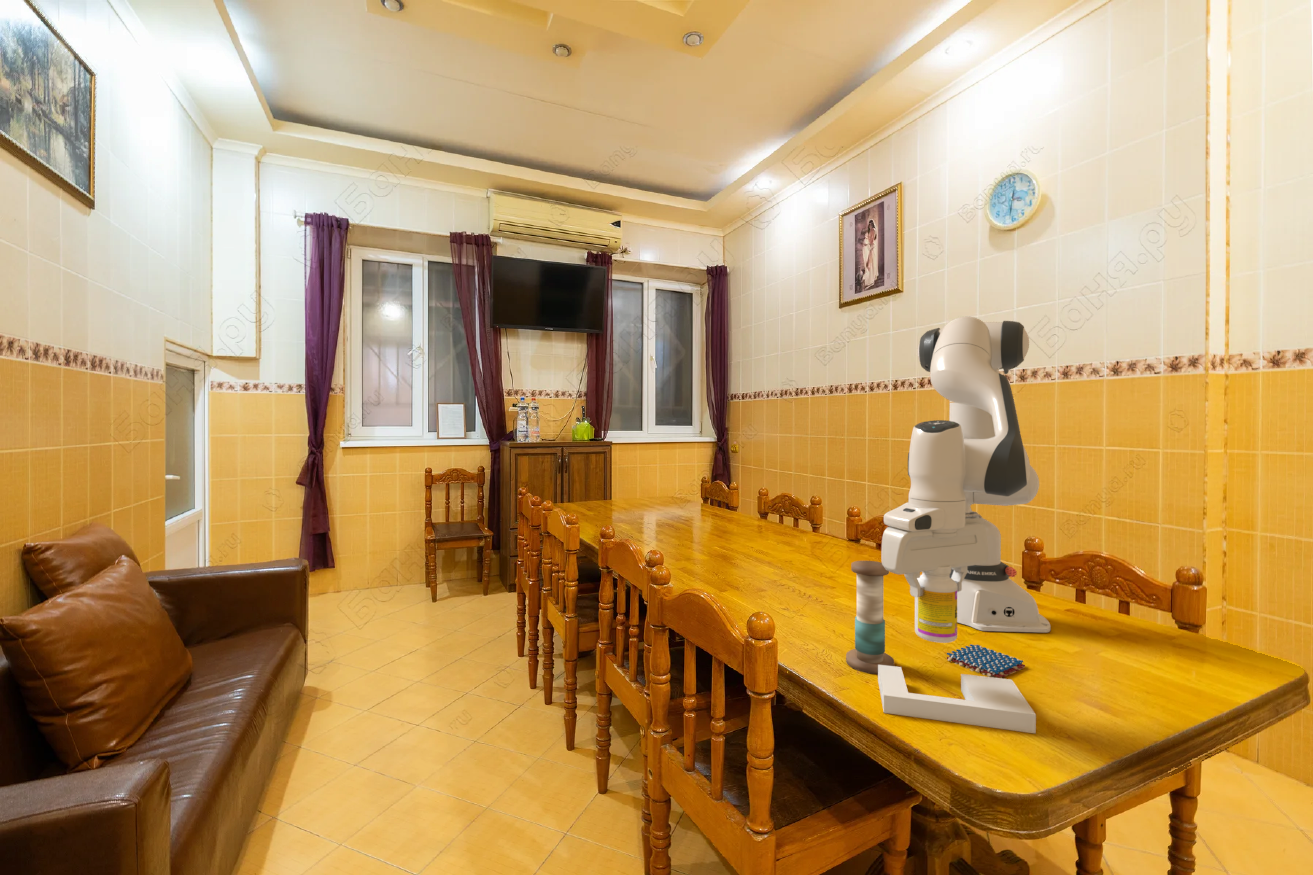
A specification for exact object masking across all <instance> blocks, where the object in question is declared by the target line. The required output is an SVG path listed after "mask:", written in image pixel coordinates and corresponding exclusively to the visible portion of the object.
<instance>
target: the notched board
mask: <svg viewBox="0 0 1313 875" xmlns="http://www.w3.org/2000/svg"><path fill="white" fill-rule="evenodd" d="M960 679H961V680H960V691H961V693H962V695H963V698H964V699H961V698H954V697H953V698H952V697H944V696H938V695H930V694H929V695H928V694H921V693H913V692H909V691H908V688H907V684H906V683H907V682H906V680H905V676H904V673H903V670H902V666H895V665H894V666H887V665H878V674H877V682H878V687H879V693H880V698H881V704H882V709H883V713H884V714H889V715H898V716H904V717H911V718H912V717H913V718H921V719H927V720H934V721H941V722H949V723H957V724H963V725H972V726H978V727H986V728H992V729H993V728H994V729H1000V730H1007V731H1008V730H1009V731H1013V732H1014V731H1016V732H1022V733H1028V734H1037V733H1036V730H1037V726H1036V724H1037V714H1036V713H1035V711H1034V709H1033V708H1032V707H1031V706H1030V704H1029V703H1028V701H1027V699H1026V698H1025V697H1024V695H1023V694H1022V693H1021V691H1020V689H1019V688H1018V686H1017V685H1016V683H1015V682H1014V681H1013V679H1010V678H1008V679H1007V678H1003V677H1002V678H995V677H988V676H985V675H982V676H981V675H976V674H975V675H973V674H966V673H960Z"/></svg>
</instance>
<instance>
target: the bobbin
mask: <svg viewBox="0 0 1313 875" xmlns="http://www.w3.org/2000/svg"><path fill="white" fill-rule="evenodd" d="M851 572H853V573H855V574H856V616H855V617H854V649H850V650H848V651H847V652H846V654H845V663H846V664H847V666H849V667H850V668H852V669H854V670H855V671H859V672H862V673H866V674H872V675H878V665H887V666H895V660H894V657H893V656H891V655H890V654H888V653H886V620H885V619H884V576H888V575H889V574H890V571H887V570H886V569H885V568H884V566H883V565H882V561H881V562H879V561H874V560H855V561H853V562H851Z"/></svg>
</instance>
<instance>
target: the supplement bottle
mask: <svg viewBox="0 0 1313 875" xmlns="http://www.w3.org/2000/svg"><path fill="white" fill-rule="evenodd" d="M950 573H951V566H945V567H938V568H937V570H932V571H924V572H921V574H920V578H917V580H918V582H919V584H920V586H923V587H925V591H924V593H925V595H924V596H923V597H914V632H915V634H916V635H917V637H919V638H921V639H923V640H924V641H925V640H926V641H928V642H932V643H933V642H934V643H943V644H947V643H948V644H949V643H952V642H954V641H956V640H957V638H958V622H957V584H956V582H955V581H954V580H953V579H951V578H950Z"/></svg>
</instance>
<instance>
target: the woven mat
mask: <svg viewBox="0 0 1313 875" xmlns="http://www.w3.org/2000/svg"><path fill="white" fill-rule="evenodd" d="M955 650H956V651H954V650H951V652H946V654H947V656H946V660H947V661H948V662H949V661H950V662H949V663H951V661H952V663H954V664H955V665H958V666H960V667H965V669H969V671H971V672H976V673H978V674H979V673H980V674H981V675H982V676H986V677H993V678H1002V679H1003V678H1006V677H1007V676H1010V675H1011V674H1014V673H1016V672H1020V670H1022V669H1024V668H1025V667H1026V664H1024V660H1023V659H1022V660H1021V659H1019V658H1017V657H1014V656H1009V655H1008V654H1005V653H1001V652H997V650H996V651H995V650H993V649H990V648H987V647H983V646H982V645H979V644H973V643H972V644H969V646H968V645H966V646H965V647H960V649H955Z"/></svg>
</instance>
